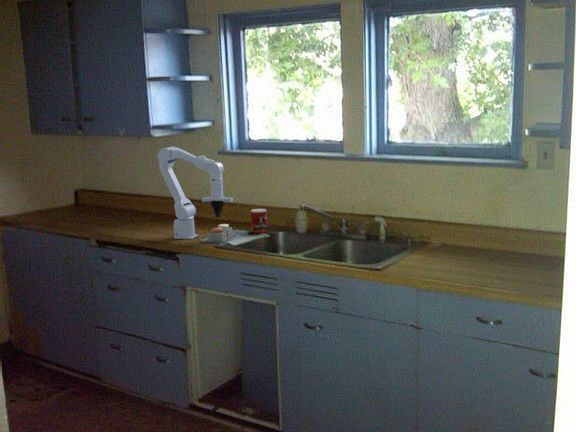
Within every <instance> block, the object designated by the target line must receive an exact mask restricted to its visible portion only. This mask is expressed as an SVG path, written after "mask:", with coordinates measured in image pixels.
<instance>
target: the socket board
mask: <svg viewBox="0 0 576 432" xmlns="http://www.w3.org/2000/svg"><path fill="white" fill-rule="evenodd" d="M207 235H208V236H207V237H208V238H207V239H205V240H204V242H205V243H227V242H228V241H229V239H230V240H231V239H233V238H235V237H236V236H237V233H234V231H233V227H230V226H229V227H228V229H227V230H223V231H222V233H221V234H218V233H213V231H212V230H211V231H210V232H209V233H208V234H207ZM235 235H236V236H235ZM232 237H233V238H232Z"/></svg>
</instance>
